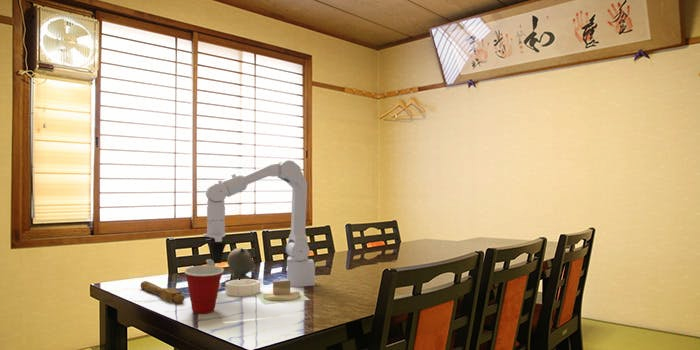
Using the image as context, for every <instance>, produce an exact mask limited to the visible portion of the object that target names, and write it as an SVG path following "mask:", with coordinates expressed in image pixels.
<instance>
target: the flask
mask: <svg viewBox="0 0 700 350" xmlns="http://www.w3.org/2000/svg"><path fill="white" fill-rule="evenodd" d="M205 262H206V266H216V263H214V261H213V260H211V258H210V259H206V260H205ZM222 286H223V285H222V284H221V282H220V283H219V288H218V290H221V289H222V288H223V287H222Z"/></svg>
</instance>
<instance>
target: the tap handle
mask: <svg viewBox="0 0 700 350" xmlns="http://www.w3.org/2000/svg"><path fill="white" fill-rule="evenodd" d="M140 288H141V289H142V290H144V291H146V292H149V293H152V294H155V295H159V296H160V299H162V300H164V301H167V302H169V303H177V304H182V303H184V301H185V296H184V295H183V294H182V293H181V290H178V289H174V288H172V287H166V288H163V287H161V286H158V285H157V284H154V283H152V282H149V281H146V280H143V281H142V282H140Z"/></svg>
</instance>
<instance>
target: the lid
mask: <svg viewBox="0 0 700 350" xmlns="http://www.w3.org/2000/svg"><path fill="white" fill-rule="evenodd" d="M298 291H299V290H292V289H291V287H290V280H287V279H284V280H283V279H282V280H273V281H272V290H270V291H266V292H263V293H264V299H266V300H269V301H289V300H294V299H297V298H299V297H300V293H301V292H300V291H299V292H300V293H299V292H298Z"/></svg>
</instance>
